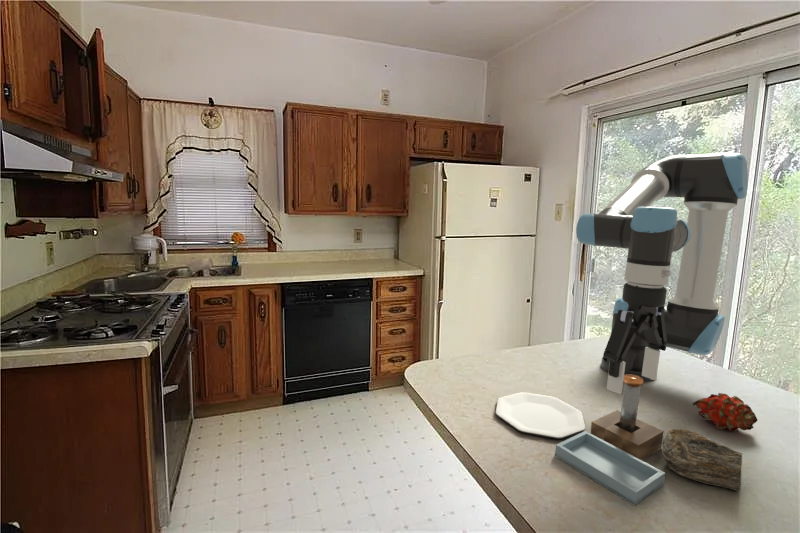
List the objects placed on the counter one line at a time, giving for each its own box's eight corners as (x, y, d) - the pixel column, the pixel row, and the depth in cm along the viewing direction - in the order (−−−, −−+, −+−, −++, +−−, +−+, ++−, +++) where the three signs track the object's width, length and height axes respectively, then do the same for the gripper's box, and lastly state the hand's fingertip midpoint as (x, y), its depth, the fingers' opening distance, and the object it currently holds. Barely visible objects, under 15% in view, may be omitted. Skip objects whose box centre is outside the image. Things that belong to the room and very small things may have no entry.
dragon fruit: (758, 447, 92) (693, 431, 101) (762, 415, 96) (700, 402, 105) (753, 424, 88) (686, 410, 97) (758, 392, 93) (694, 381, 102)
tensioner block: (589, 438, 91) (591, 421, 90) (615, 426, 96) (617, 410, 95) (636, 463, 82) (638, 445, 82) (661, 448, 88) (663, 430, 87)
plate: (539, 450, 86) (540, 444, 86) (479, 407, 104) (480, 402, 103) (602, 428, 95) (602, 422, 95) (537, 392, 113) (538, 387, 112)
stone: (647, 453, 80) (670, 409, 83) (654, 469, 86) (675, 428, 89) (731, 499, 70) (755, 448, 72) (733, 514, 76) (754, 466, 79)
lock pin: (612, 441, 90) (620, 376, 87) (621, 436, 92) (629, 372, 89) (628, 450, 87) (637, 383, 84) (637, 445, 89) (646, 379, 86)
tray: (554, 456, 84) (555, 444, 84) (584, 441, 89) (585, 430, 89) (634, 505, 71) (636, 492, 70) (663, 485, 76) (665, 472, 76)
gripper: (630, 293, 74) (616, 405, 77) (694, 283, 87) (680, 378, 90) (591, 285, 80) (579, 389, 83) (656, 277, 93) (644, 366, 97)
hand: (632, 384), depth 87 cm, fingers open, 13 cm apart
